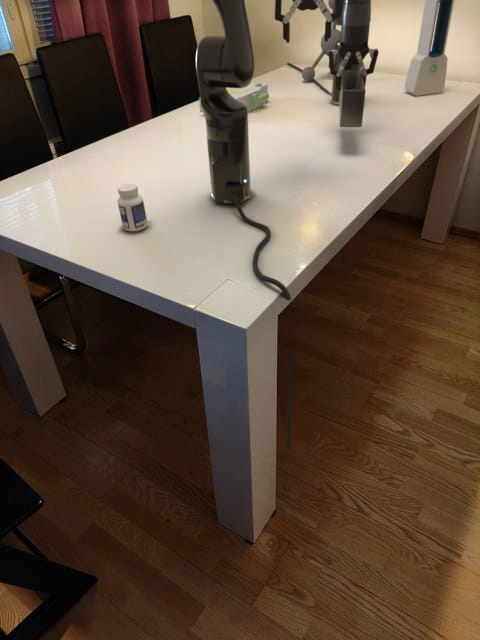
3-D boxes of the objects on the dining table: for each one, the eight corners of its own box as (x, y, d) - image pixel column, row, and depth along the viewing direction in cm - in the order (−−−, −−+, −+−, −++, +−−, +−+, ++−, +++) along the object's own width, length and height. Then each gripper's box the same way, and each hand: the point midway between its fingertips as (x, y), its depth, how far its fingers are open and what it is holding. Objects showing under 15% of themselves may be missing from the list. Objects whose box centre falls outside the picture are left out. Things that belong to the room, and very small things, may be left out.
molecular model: (291, 76, 212) (292, -6, 194) (337, 70, 217) (342, -11, 198) (313, 87, 194) (316, -2, 176) (362, 81, 199) (371, -7, 180)
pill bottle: (149, 220, 107) (142, 181, 102) (146, 231, 103) (138, 191, 98) (125, 221, 107) (116, 182, 102) (121, 232, 103) (112, 193, 98)
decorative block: (232, 78, 185) (277, 83, 175) (233, 96, 189) (277, 102, 179) (189, 94, 169) (235, 100, 159) (191, 113, 173) (236, 121, 163)
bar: (361, 127, 128) (365, 90, 123) (339, 127, 129) (342, 90, 124) (357, 103, 146) (361, 70, 141) (338, 103, 147) (341, 70, 141)
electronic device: (413, 96, 177) (429, -3, 159) (402, 91, 183) (416, -4, 164) (444, 92, 179) (462, -6, 161) (432, 88, 185) (449, -7, 167)
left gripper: (273, -46, 97) (273, 46, 108) (345, -50, 95) (339, 43, 105) (276, -48, 103) (276, 40, 113) (344, -52, 101) (338, 37, 111)
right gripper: (382, 19, 133) (374, 86, 143) (328, 21, 135) (325, 87, 145) (384, 23, 127) (376, 93, 137) (328, 25, 129) (324, 93, 139)
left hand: (306, 41), depth 109 cm, fingers open, 8 cm apart
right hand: (350, 89), depth 141 cm, fingers closed on bar, 5 cm apart
